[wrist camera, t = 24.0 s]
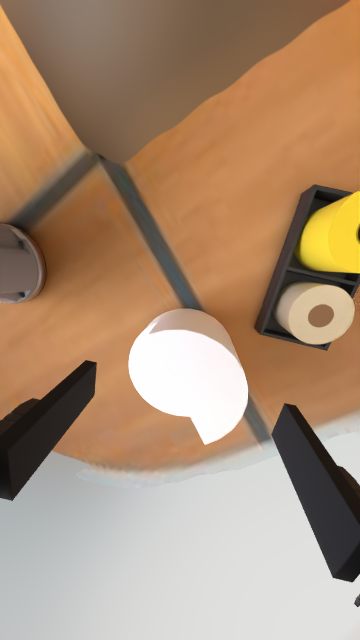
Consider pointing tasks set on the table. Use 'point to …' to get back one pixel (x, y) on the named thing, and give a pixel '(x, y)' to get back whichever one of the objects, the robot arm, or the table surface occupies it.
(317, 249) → the tape roll
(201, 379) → the white notched cylinder
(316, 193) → the rack
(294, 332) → the paper roll
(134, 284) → the table surface
